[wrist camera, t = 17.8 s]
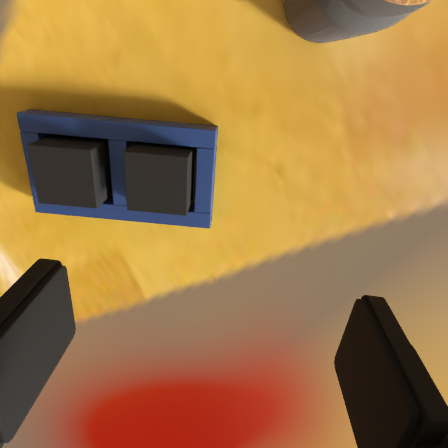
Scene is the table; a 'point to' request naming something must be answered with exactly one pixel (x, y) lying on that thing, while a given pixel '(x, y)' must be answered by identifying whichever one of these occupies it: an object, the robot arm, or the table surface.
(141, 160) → the pad
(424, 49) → the table surface
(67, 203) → the pad
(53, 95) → the table surface
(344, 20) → the bottle
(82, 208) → the frame
